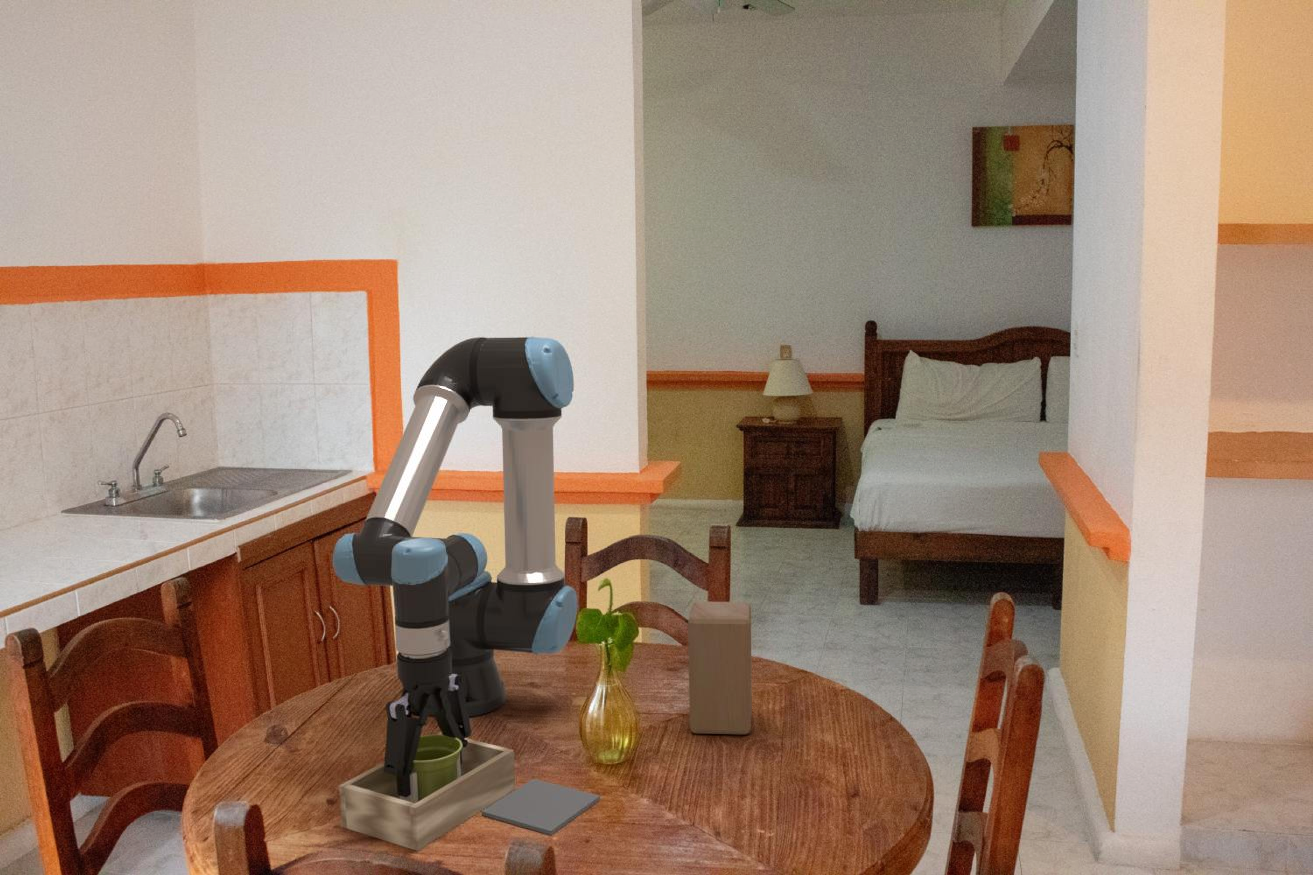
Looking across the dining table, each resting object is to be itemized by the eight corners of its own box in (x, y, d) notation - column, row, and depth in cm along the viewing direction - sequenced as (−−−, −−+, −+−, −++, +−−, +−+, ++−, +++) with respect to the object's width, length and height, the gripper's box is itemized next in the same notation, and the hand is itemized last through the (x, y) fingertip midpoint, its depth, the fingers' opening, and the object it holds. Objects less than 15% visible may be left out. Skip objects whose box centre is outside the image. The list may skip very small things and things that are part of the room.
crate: (341, 826, 159) (339, 785, 158) (443, 769, 176) (441, 731, 176) (417, 850, 152) (415, 808, 151) (515, 788, 169) (514, 749, 169)
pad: (481, 815, 161) (481, 811, 161) (533, 782, 171) (533, 778, 171) (551, 835, 155) (551, 830, 155) (600, 799, 165) (600, 795, 165)
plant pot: (393, 796, 167) (390, 739, 166) (458, 784, 170) (455, 729, 169) (403, 824, 158) (400, 765, 157) (471, 812, 161) (468, 754, 160)
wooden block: (751, 713, 197) (750, 600, 194) (750, 736, 187) (749, 618, 184) (693, 712, 198) (691, 599, 195) (689, 735, 188) (687, 617, 185)
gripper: (390, 678, 150) (399, 840, 153) (492, 632, 168) (498, 778, 171) (348, 668, 154) (358, 827, 157) (453, 624, 172) (460, 767, 175)
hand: (431, 801), depth 164 cm, fingers closed on plant pot, 8 cm apart
